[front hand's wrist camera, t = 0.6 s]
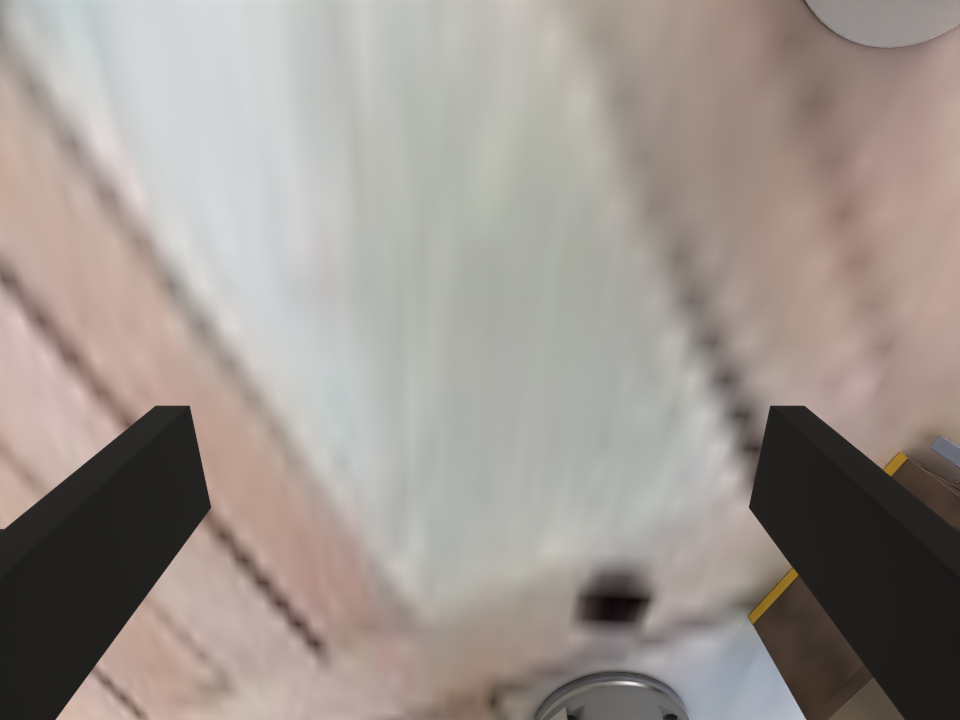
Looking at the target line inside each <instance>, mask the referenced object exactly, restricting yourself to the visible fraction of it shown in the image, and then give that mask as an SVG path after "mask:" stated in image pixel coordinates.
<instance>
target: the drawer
mask: <svg viewBox="0 0 960 720" xmlns="http://www.w3.org/2000/svg"><path fill="white" fill-rule="evenodd" d="M930 448H931V449H932V450H934V451H935V452H936V453H938V454H939V455H941V456H942V457H944V458H945V459H947V460H948V461H950V462H951V463H953V464H954V465H955V466H957V467H958V468H960V446H959V445H957V444H955V443H953V442H951V441H950V440H948V439H946V438H944V437H942V436H939V437H938V438H937V439H936V440H935V441H934V442H933V443H932V445H931V446H930ZM927 471H928V472H930V473H931V474H932V475H934V476H935V477H936V478H938V479H939V480H940V481H942V482H943V483H944V484H946V485H947V486H949V487H950V488H951V489H953V490H954V491H955V492H957V493H958V494H959V495H960V487H959V486H957V485H955V484H953V483H951V482H949V481H947V480H945V479H944V478H942V477H940V476H938V475H936V474H934V473H932V472H931V471H929V470H927Z"/></svg>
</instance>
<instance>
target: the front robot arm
mask: <svg viewBox="0 0 960 720" xmlns="http://www.w3.org/2000/svg"><path fill="white" fill-rule="evenodd" d="M210 508H211V505H210V500H209V495H208V491H207V486H206V481H205V476H204V472H203V467H202V462H201V457H200V453H199V448H198V443H197V438H196V434H195V429H194V424H193V419H192V415H191V410H190V406H155V407H154V408H152V409H151V410H150V411H149V412H148V413H146V414H145V415H144V416H143V417H141V418H140V419H139V420H138V421H136V422H135V423H134V424H133V425H132V426H130V427H129V428H128V429H127V430H125V431H124V432H123V433H122V434H121V435H119V436H118V437H117V438H116V439H114V440H113V441H112V442H111V443H110V444H108V445H107V446H106V447H105V448H103V449H102V450H101V451H100V452H98V453H97V454H96V455H95V456H94V457H92V458H91V459H90V460H89V461H87V462H86V463H85V464H84V465H83V466H81V467H80V468H79V469H78V470H76V471H75V472H74V473H73V474H71V475H70V476H69V477H68V478H67V479H65V480H64V481H63V482H62V483H60V484H59V485H58V486H57V487H56V488H54V489H53V490H52V491H51V492H49V493H48V494H47V495H46V496H45V497H43V498H42V499H41V500H40V501H38V502H37V503H36V504H35V505H33V506H32V507H31V508H30V509H29V510H27V511H26V512H25V513H24V514H22V515H21V516H20V517H19V518H18V519H16V520H15V521H14V522H13V523H11V524H10V525H9V526H8V527H7V528H5V529H0V720H55V719H56V718H57V717H58V715H59V714H60V713H61V711H62V710H63V709H64V707H65V706H66V704H67V703H68V702H69V700H70V699H71V698H72V696H73V695H74V694H75V692H76V691H77V690H78V688H79V687H80V685H81V684H82V683H83V681H84V680H85V679H86V677H87V676H88V675H89V673H90V672H91V670H92V669H93V668H94V666H95V665H96V664H97V662H98V661H99V660H100V658H101V657H102V655H103V654H104V653H105V651H106V650H107V649H108V647H109V646H110V645H111V643H112V642H113V640H114V639H115V638H116V636H117V635H118V634H119V632H120V631H121V630H122V628H123V627H124V626H125V624H126V623H127V621H128V620H129V619H130V617H131V616H132V615H133V613H134V612H135V611H136V609H137V608H138V606H139V605H140V604H141V602H142V601H143V600H144V598H145V597H146V596H147V594H148V593H149V591H150V590H151V589H152V587H153V586H154V585H155V583H156V582H157V581H158V579H159V578H160V576H161V575H162V574H163V572H164V571H165V570H166V568H167V567H168V566H169V564H170V563H171V561H172V560H173V559H174V557H175V556H176V555H177V553H178V552H179V551H180V549H181V548H182V547H183V545H184V544H185V542H186V541H187V540H188V538H189V537H190V536H191V534H192V533H193V532H194V530H195V529H196V527H197V526H198V525H199V523H200V522H201V521H202V519H203V518H204V517H205V515H206V514H207V512H208V511H209V510H210ZM749 508H750V510H751V511H752V512H753V514H754V515H755V517H756V518H757V519H758V521H759V522H760V523H761V525H762V526H763V527H764V529H765V530H766V532H767V533H768V534H769V536H770V537H771V538H772V540H773V541H774V542H775V544H776V545H777V547H778V548H779V549H780V551H781V552H782V553H783V555H784V556H785V557H786V559H787V560H788V561H789V563H790V564H791V566H792V567H793V568H794V570H795V571H796V572H797V574H798V575H799V576H800V578H801V579H802V581H803V582H804V583H805V585H806V586H807V587H808V589H809V590H810V591H811V593H812V594H813V596H814V597H815V598H816V600H817V601H818V602H819V604H820V605H821V606H822V608H823V609H824V611H825V612H826V613H827V615H828V616H829V617H830V619H831V620H832V621H833V623H834V624H835V626H836V627H837V628H838V630H839V631H840V632H841V634H842V635H843V636H844V638H845V639H846V640H847V642H848V643H849V645H850V646H851V647H852V649H853V650H854V651H855V653H856V654H857V655H858V657H859V658H860V660H861V661H862V662H863V664H864V665H865V666H866V668H867V669H868V670H869V672H870V673H871V675H872V676H873V677H874V679H875V680H876V681H877V683H878V684H879V685H880V687H881V688H882V690H883V691H884V692H885V694H886V695H887V696H888V698H889V699H890V700H891V702H892V703H893V705H894V706H895V707H896V709H897V710H898V711H899V713H900V714H901V715H902V717H903V718H904V719H905V720H960V527H952V526H951V525H950V524H949V523H947V522H946V521H945V520H944V519H942V518H941V517H940V516H939V515H938V514H936V513H935V512H934V511H933V510H931V509H930V508H929V507H928V506H927V505H925V504H924V503H923V502H922V501H920V500H919V499H918V498H917V497H915V496H914V495H913V494H912V493H911V492H909V491H908V490H907V489H906V488H904V487H903V486H902V485H901V484H900V483H898V482H897V481H896V480H895V479H893V478H892V477H891V476H890V475H889V474H887V473H886V472H885V471H884V470H882V469H881V468H880V467H879V466H877V465H876V464H875V463H874V462H873V461H871V460H870V459H869V458H868V457H866V456H865V455H864V454H863V453H862V452H860V451H859V450H858V449H857V448H855V447H854V446H853V445H852V444H850V443H849V442H848V441H847V440H846V439H844V438H843V437H842V436H841V435H839V434H838V433H837V432H836V431H835V430H833V429H832V428H831V427H830V426H828V425H827V424H826V423H825V422H824V421H822V420H821V419H820V418H819V417H817V416H816V415H815V414H814V413H812V412H811V411H810V410H809V409H808V408H806V407H805V406H770V410H769V414H768V419H767V424H766V429H765V434H764V438H763V443H762V448H761V453H760V457H759V462H758V467H757V472H756V476H755V481H754V486H753V491H752V495H751V500H750V505H749ZM535 720H689V718H688V716H687V713H686V710H685V707H684V705H683V703H682V701H681V700H680V699H679V697H678V696H677V695H676V694H675V693H674V692H673V691H672V690H671V689H670V688H668V687H667V686H665V685H664V684H662V683H660V682H658V681H656V680H654V679H651V678H648V677H645V676H641V675H637V674H630V673H604V674H597V675H592V676H588V677H584V678H581V679H579V680H576V681H574V682H571V683H569V684H567V685H565V686H564V687H562V688H560V689H559V690H557V691H556V692H555V693H554V694H552V695H551V696H550V697H549V698H548V699H547V700H546V701H545V702H544V704H543V705H542V706H541V708H540V710H539V712H538V713H537V716H536V719H535Z"/></svg>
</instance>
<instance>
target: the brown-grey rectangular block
mask: <svg viewBox="0 0 960 720" xmlns="http://www.w3.org/2000/svg"><path fill="white" fill-rule="evenodd" d="M927 470H929V471H931V472H932V473H934V474H936V475H938V476H940V477H942V478H944V479H945V480H947V481H949V482H951V483H953V484H955V485H957V486H959V487H960V484H958V483H956V482H954V481H952V480H950V479H949V478H947V477H945V476H943V475H941V474H939V473H937V472H935V471H934V470H932V469H930V468H928V467H926V466H924V465H922V464H921V463H919V462H917V461H915V460H913V459H911V458H909V457H908V456H906V455H904V454H902V453H900V452H899V453H898V455H897V456H896V457H895V458H894V459H893V460H892V461H891V462H890V463H889V464H888V465H887V466H886V468H885V469H884V471H885V472H886V473H887V474H889V475H890V476H891V477H892V478H893V479H895V480H896V481H897V482H898V483H900V484H901V485H902V486H903V487H904V488H906V489H907V490H908V491H909V492H911V493H912V494H913V495H914V496H915V497H917V498H918V499H919V500H920V501H922V502H923V503H924V504H925V505H927V506H928V507H929V508H930V509H931V510H933V511H934V512H935V513H936V514H938V515H939V516H940V517H941V518H942V519H944V520H945V521H946V522H947V523H949V524H950V525H951V526H952V527H960V495H959V494H958V493H957V492H955V491H954V490H953V489H951V488H950V487H949V486H947V485H946V484H944V483H943V482H942V481H940V480H939V479H938V478H936V477H935V476H934V475H932V474H931V473H930V472H928V471H927ZM748 618H749V620H750V621H751V623H752V625H754V628H755V629H756V631H757V633H758V635H759V636H760V638H761V640H762V642H763V644H764V645H765V647H766V649H767V651H768V652H769V654H770V656H771V658H772V659H773V661H774V663H775V665H776V667H777V668H778V670H779V672H780V674H781V675H782V677H783V679H784V681H785V683H786V684H787V686H788V688H789V690H790V691H791V693H792V695H793V697H794V699H795V700H796V702H797V704H798V706H799V707H800V709H801V711H802V713H803V714H804V716H805V718H806V719H807V720H905V719H904V718H903V717H902V715H901V714H900V713H899V711H898V710H897V709H896V707H895V706H894V705H893V703H892V702H891V700H890V699H889V698H888V696H887V695H886V694H885V692H884V691H883V690H882V688H881V687H880V685H879V684H878V683H877V681H876V680H875V679H874V677H873V676H872V675H871V673H870V672H869V670H868V669H867V668H866V666H865V665H864V664H863V662H862V661H861V660H860V658H859V657H858V655H857V654H856V653H855V651H854V650H853V649H852V647H851V646H850V645H849V643H848V642H847V640H846V639H845V638H844V636H843V635H842V634H841V632H840V631H839V630H838V628H837V627H836V626H835V624H834V623H833V621H832V620H831V619H830V617H829V616H828V615H827V613H826V612H825V611H824V609H823V608H822V606H821V605H820V604H819V602H818V601H817V600H816V598H815V597H814V596H813V594H812V593H811V591H810V590H809V589H808V587H807V586H806V585H805V583H804V582H803V581H802V579H801V578H800V576H799V575H798V574H797V572H796V571H795V570H794V568H792V569H791V570H790V572H789V573H788V574H787V575H786V576H785V577H784V578H783V579H782V580H781V581H780V582H779V583H778V585H777V586H776V587H775V588H774V589H773V590H772V591H771V592H770V593H769V594H768V595H767V596H766V598H765V599H764V600H763V601H762V602H761V603H760V604H759V605H758V606H757V607H756V608H755V609H754V611H753V612H752V613H751V614H750V615H749V616H748Z"/></svg>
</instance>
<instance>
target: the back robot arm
mask: <svg viewBox="0 0 960 720" xmlns="http://www.w3.org/2000/svg"><path fill="white" fill-rule="evenodd" d="M805 1H806V3H807V4H808V6H809V7H810V9H811V10H812V11H813V13H814V14H815V15H816V16H817V17H818V18H819V19H820V21H821V22H823V23H824V24H825V25H826V26H827V27H828V28H829V29H831V30H832V31H834V32H835V33H836V34H838V35H840V36H842V37H843V38H845V39H848V40H850V41H852V42H855V43H858V44H861V45H865V46H871V47H879V48H895V47H904V46H910V45H914V44H918V43H922V42H925V41H928V40H930V39H933V38H935V37H938V36H940V35H942V34H944V33H946V32H948V31H950V30H952V29H953V28H955V27H957V26H958V25H960V0H805Z"/></svg>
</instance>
